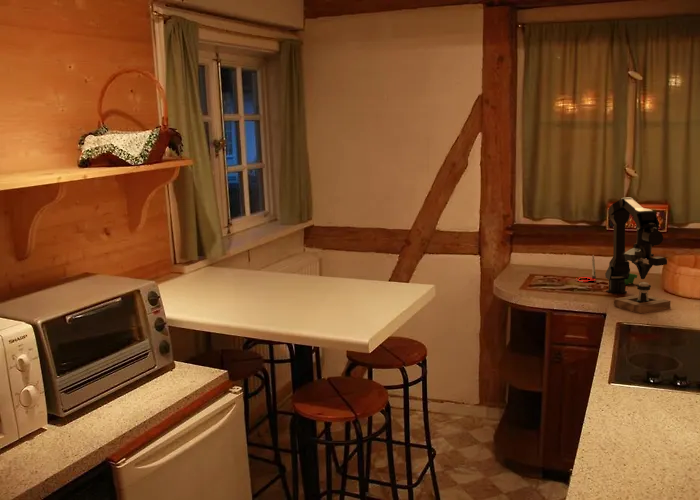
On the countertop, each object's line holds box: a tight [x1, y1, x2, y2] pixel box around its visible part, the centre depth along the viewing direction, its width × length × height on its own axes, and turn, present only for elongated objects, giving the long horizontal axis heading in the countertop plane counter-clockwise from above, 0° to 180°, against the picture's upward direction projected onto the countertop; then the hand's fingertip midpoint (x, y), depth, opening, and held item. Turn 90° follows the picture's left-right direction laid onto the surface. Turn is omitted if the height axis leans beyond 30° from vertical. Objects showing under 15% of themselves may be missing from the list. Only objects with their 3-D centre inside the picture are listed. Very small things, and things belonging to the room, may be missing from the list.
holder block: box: [613, 294, 672, 314], centre depth 272 cm, size 14×16×3 cm
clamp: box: [625, 272, 638, 286], centre depth 315 cm, size 12×6×9 cm, turn 3°
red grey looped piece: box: [578, 254, 597, 283], centre depth 322 cm, size 8×13×9 cm
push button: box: [636, 281, 652, 303], centre depth 272 cm, size 7×5×10 cm
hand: (642, 279), depth 271 cm, fingers closed
